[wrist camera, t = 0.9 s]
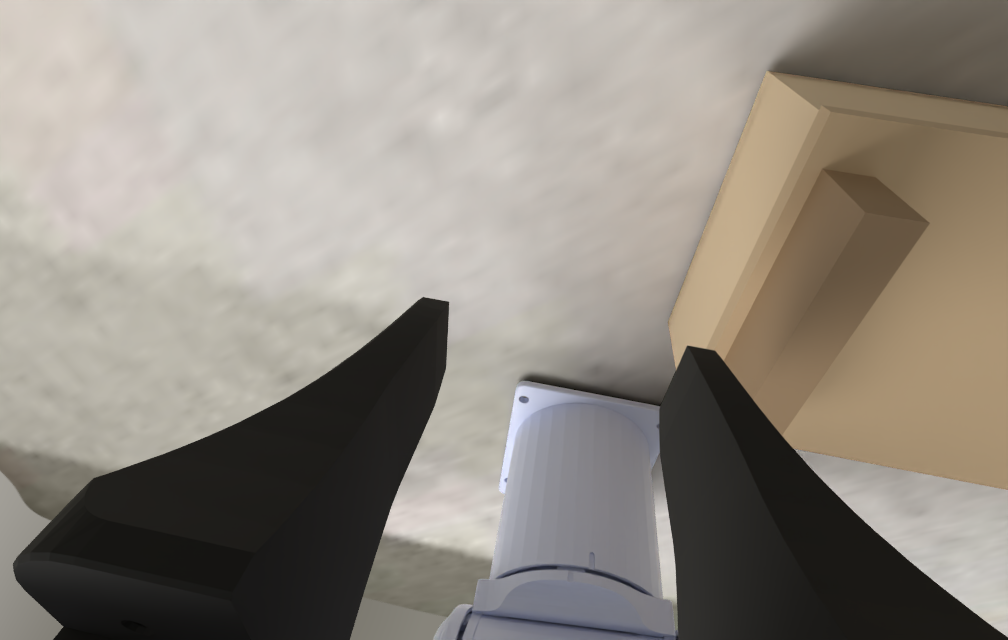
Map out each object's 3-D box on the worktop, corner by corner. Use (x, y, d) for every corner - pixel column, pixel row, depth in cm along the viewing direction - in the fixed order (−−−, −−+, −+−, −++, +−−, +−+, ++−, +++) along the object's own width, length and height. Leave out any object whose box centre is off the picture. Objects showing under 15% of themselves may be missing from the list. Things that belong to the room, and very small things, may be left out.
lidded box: (667, 322, 22) (682, 406, 18) (766, 70, 15) (823, 113, 11) (1055, 391, 21) (1162, 497, 17) (1323, 153, 14) (1594, 230, 11)
